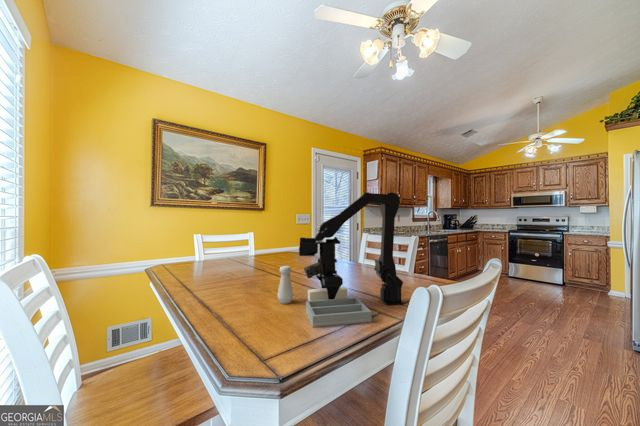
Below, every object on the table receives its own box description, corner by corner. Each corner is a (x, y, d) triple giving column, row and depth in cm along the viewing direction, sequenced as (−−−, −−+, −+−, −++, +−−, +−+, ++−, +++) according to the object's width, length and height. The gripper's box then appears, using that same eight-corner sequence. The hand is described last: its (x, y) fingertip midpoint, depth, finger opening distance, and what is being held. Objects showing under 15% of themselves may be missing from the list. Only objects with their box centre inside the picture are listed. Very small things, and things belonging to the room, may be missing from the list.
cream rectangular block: (344, 300, 94) (344, 286, 95) (347, 303, 91) (347, 289, 91) (307, 303, 91) (307, 289, 91) (309, 306, 87) (309, 292, 87)
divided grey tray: (356, 306, 87) (356, 297, 87) (371, 321, 74) (371, 311, 74) (305, 310, 83) (305, 301, 84) (312, 327, 70) (312, 316, 70)
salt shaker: (285, 305, 88) (285, 268, 88) (273, 302, 91) (274, 266, 92) (296, 301, 92) (296, 266, 93) (285, 298, 96) (285, 264, 96)
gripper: (302, 253, 99) (302, 293, 98) (309, 261, 81) (309, 310, 80) (329, 252, 101) (329, 291, 101) (342, 259, 83) (343, 307, 82)
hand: (327, 299), depth 91 cm, fingers open, 9 cm apart
